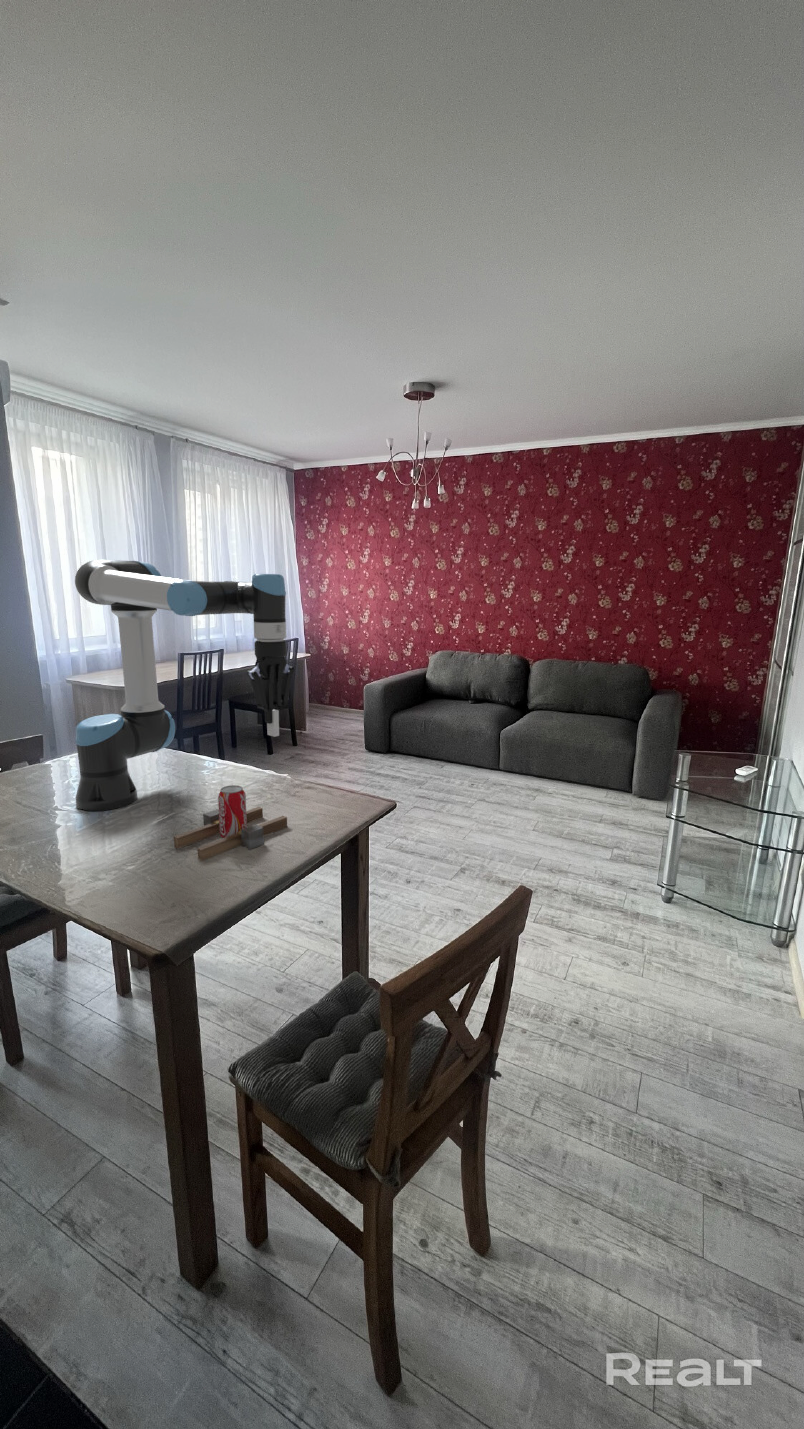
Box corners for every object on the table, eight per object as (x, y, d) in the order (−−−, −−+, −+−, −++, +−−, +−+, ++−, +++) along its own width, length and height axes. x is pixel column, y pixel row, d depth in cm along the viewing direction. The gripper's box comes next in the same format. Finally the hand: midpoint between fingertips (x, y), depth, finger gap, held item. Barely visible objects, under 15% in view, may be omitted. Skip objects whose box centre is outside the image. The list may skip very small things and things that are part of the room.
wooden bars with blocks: (166, 842, 137) (164, 826, 136) (250, 812, 156) (250, 798, 155) (211, 865, 126) (210, 847, 125) (296, 830, 145) (296, 814, 144)
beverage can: (241, 842, 137) (239, 793, 135) (215, 841, 138) (213, 792, 136) (251, 832, 143) (249, 785, 141) (226, 830, 144) (224, 783, 142)
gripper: (258, 642, 134) (261, 743, 139) (301, 639, 144) (303, 732, 149) (238, 640, 139) (242, 737, 144) (281, 637, 149) (283, 728, 154)
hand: (273, 735), depth 147 cm, fingers closed
